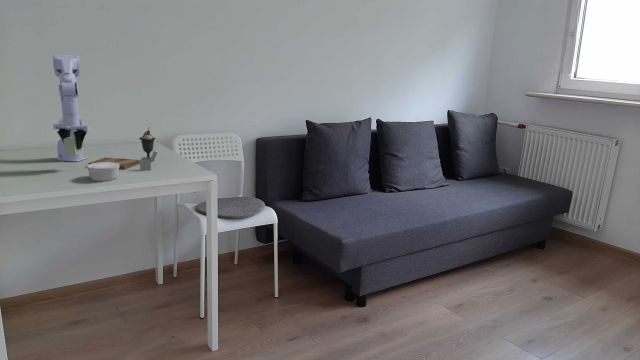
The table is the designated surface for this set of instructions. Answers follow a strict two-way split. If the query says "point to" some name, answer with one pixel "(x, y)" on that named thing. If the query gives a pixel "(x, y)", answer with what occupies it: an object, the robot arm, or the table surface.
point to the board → (119, 162)
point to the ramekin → (103, 171)
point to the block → (71, 146)
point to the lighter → (147, 161)
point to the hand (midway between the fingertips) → (73, 148)
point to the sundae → (147, 143)
